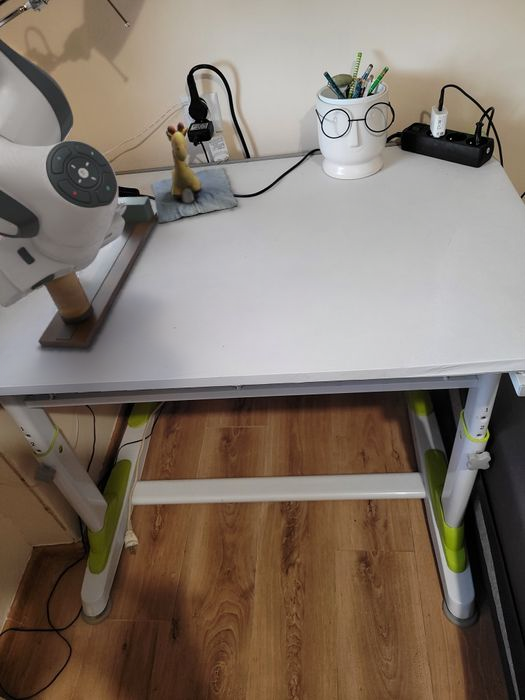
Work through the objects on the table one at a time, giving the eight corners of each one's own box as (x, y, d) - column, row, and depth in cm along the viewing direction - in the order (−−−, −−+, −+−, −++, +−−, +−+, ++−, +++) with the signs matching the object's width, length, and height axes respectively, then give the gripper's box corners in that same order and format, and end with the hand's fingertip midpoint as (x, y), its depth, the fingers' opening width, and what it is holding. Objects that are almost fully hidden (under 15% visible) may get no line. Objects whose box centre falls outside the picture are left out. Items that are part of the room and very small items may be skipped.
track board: (88, 348, 78) (85, 342, 77) (41, 346, 79) (37, 340, 78) (158, 217, 103) (156, 211, 102) (121, 218, 104) (119, 212, 103)
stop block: (151, 227, 101) (144, 204, 97) (118, 227, 102) (110, 205, 98) (155, 218, 103) (148, 196, 99) (123, 219, 104) (115, 197, 100)
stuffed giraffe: (159, 223, 101) (138, 142, 90) (153, 185, 114) (134, 111, 103) (237, 208, 102) (227, 127, 92) (223, 172, 116) (212, 98, 105)
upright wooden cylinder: (63, 328, 80) (19, 248, 69) (59, 309, 83) (17, 230, 72) (95, 316, 81) (57, 236, 70) (90, 298, 84) (53, 219, 73)
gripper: (113, 179, 69) (96, 222, 81) (-25, 256, 59) (-21, 292, 71) (143, 217, 70) (122, 254, 82) (12, 298, 60) (10, 327, 72)
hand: (54, 272), depth 77 cm, fingers closed on upright wooden cylinder, 5 cm apart
